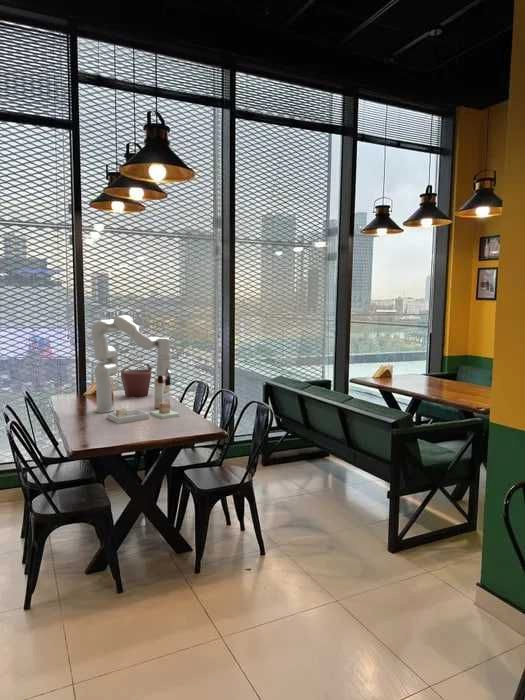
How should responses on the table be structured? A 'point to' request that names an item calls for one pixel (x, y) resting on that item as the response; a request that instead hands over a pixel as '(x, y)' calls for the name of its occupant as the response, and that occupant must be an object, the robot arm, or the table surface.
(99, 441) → the table surface
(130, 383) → the bucket
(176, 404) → the table surface
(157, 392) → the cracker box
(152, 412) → the board
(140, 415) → the bin
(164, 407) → the labelled block
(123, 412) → the plain block
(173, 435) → the table surface
